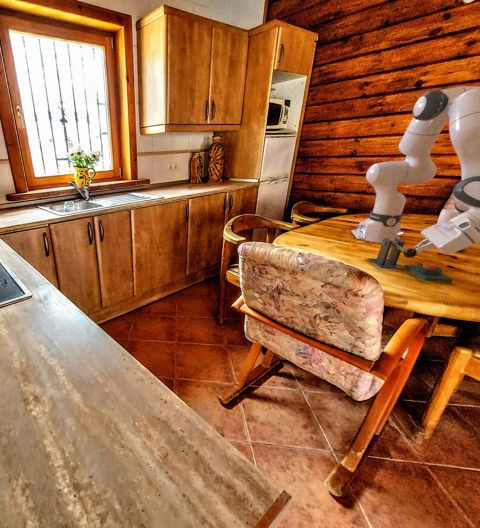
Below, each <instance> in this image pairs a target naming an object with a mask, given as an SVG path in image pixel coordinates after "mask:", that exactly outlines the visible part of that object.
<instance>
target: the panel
mask: <svg viewBox="0 0 480 528" xmlns="http://www.w3.org/2000/svg"><path fill="white" fill-rule="evenodd" d="M422 265H423V263H417V264H405V265H404V267H403V268H404V269H405V270H407V271H408V272H410V273H412V274H413V275H415V276H416V277H418V279H419V278H420V279H421V280H422V281H424V282H438V283H452V281H453V279H454V278H452V277H450V276H448V275H446V274H445V273H443V268H442V267H440V266H438V267H437V270H431V269H426V268H423V267H422Z"/></svg>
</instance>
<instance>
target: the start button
mask: <svg viewBox="0 0 480 528" xmlns="http://www.w3.org/2000/svg"><path fill="white" fill-rule="evenodd" d="M422 264H423V265H422V267H423V268H426V269H431V270H437V267H439V264H437V263H435V262H432V261H431V262H430V261H424V262H423V263H422Z"/></svg>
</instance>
